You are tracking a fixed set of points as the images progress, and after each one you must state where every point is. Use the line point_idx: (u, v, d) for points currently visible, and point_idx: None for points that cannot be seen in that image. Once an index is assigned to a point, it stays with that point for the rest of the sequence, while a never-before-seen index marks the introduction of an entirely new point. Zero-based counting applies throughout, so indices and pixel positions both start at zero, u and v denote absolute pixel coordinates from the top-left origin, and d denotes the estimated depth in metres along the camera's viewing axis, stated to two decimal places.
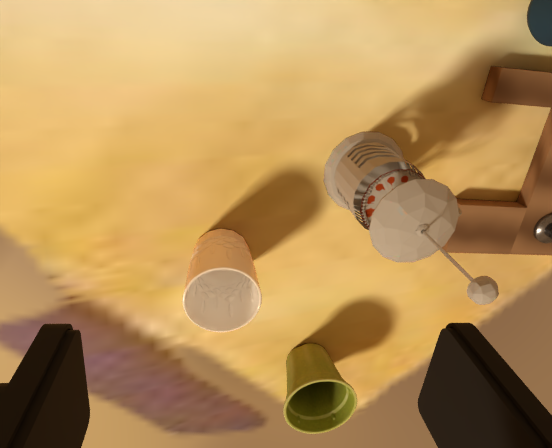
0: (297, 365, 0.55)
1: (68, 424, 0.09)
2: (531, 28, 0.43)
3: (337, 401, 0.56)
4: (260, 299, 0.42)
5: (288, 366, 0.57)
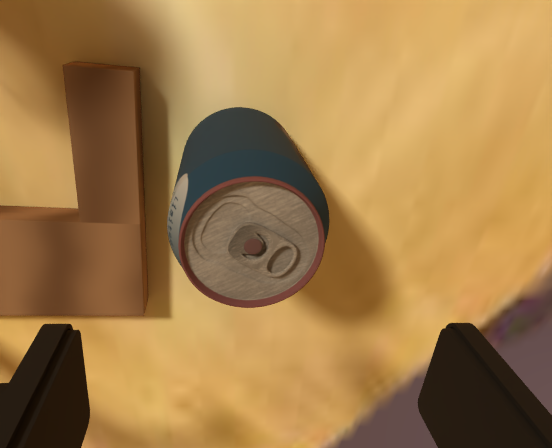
0: None
1: (68, 424, 0.09)
2: (207, 117, 0.24)
3: None
4: None
5: None
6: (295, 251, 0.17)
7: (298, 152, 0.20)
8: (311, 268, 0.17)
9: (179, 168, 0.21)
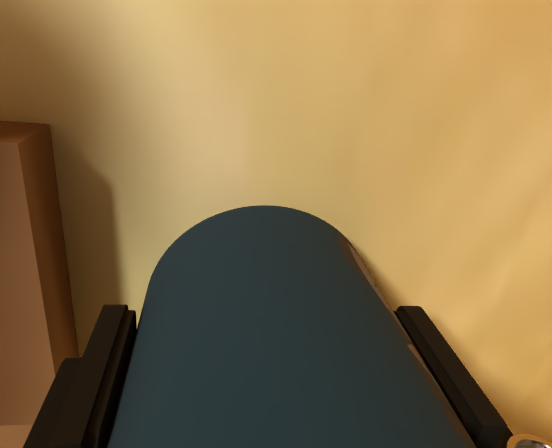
0: None
1: None
2: (194, 227, 0.11)
3: None
4: None
5: None
6: None
7: (428, 371, 0.08)
8: None
9: (119, 397, 0.08)
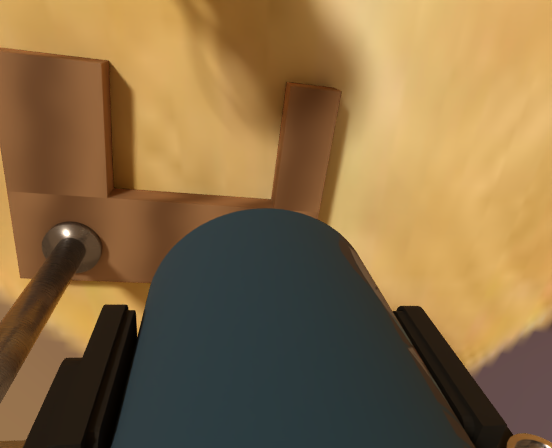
0: None
1: None
2: (196, 230, 0.12)
3: None
4: None
5: None
6: None
7: (428, 374, 0.08)
8: None
9: None
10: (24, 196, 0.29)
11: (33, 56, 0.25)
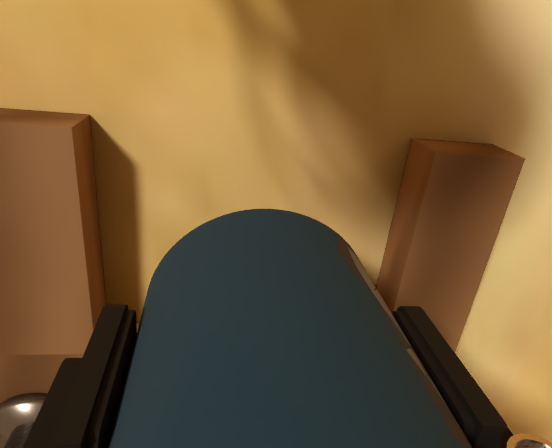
0: None
1: None
2: (194, 231, 0.12)
3: None
4: None
5: None
6: None
7: (426, 375, 0.08)
8: None
9: (119, 401, 0.08)
10: None
11: None
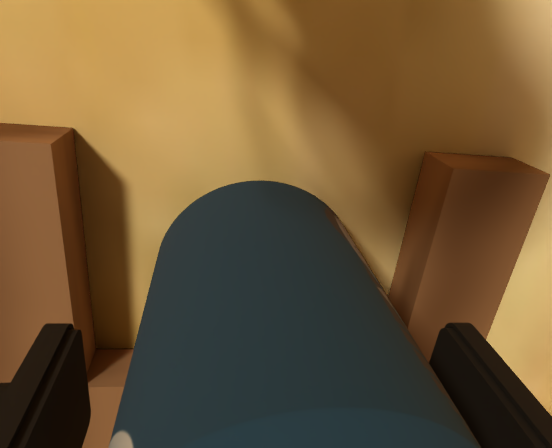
0: None
1: (69, 423, 0.09)
2: (201, 198, 0.13)
3: None
4: None
5: None
6: None
7: (392, 306, 0.10)
8: None
9: (139, 328, 0.10)
10: None
11: None
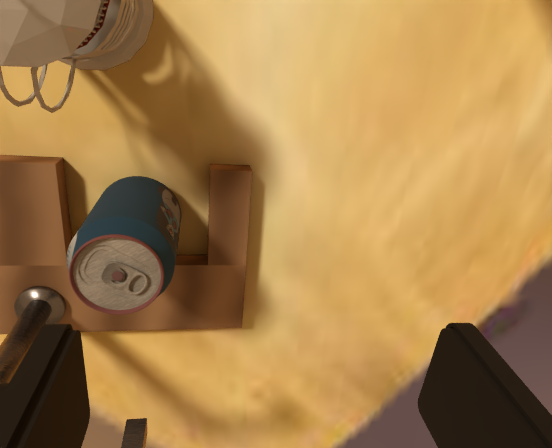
0: None
1: (68, 424, 0.09)
2: None
3: None
4: None
5: None
6: (146, 278, 0.27)
7: (164, 211, 0.31)
8: (158, 289, 0.27)
9: None
10: None
11: (0, 162, 0.32)
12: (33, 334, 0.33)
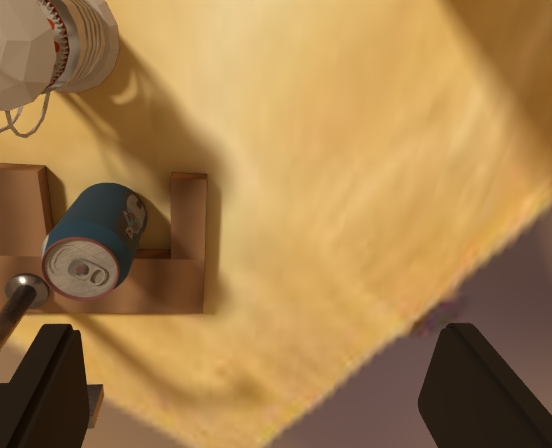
0: None
1: (68, 424, 0.09)
2: (87, 188, 0.40)
3: None
4: None
5: None
6: (104, 272, 0.33)
7: (125, 215, 0.37)
8: (115, 281, 0.33)
9: None
10: None
11: None
12: (19, 314, 0.39)
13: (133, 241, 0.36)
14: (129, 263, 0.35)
